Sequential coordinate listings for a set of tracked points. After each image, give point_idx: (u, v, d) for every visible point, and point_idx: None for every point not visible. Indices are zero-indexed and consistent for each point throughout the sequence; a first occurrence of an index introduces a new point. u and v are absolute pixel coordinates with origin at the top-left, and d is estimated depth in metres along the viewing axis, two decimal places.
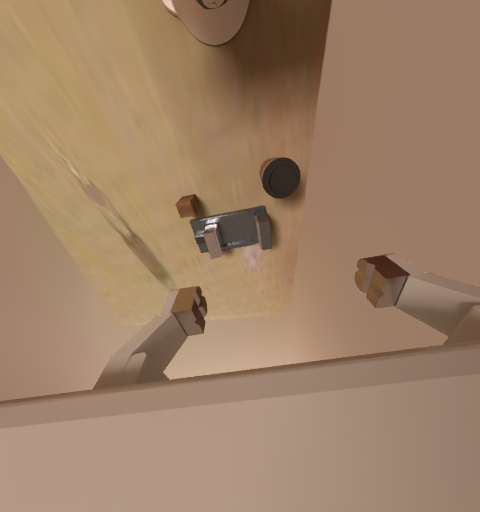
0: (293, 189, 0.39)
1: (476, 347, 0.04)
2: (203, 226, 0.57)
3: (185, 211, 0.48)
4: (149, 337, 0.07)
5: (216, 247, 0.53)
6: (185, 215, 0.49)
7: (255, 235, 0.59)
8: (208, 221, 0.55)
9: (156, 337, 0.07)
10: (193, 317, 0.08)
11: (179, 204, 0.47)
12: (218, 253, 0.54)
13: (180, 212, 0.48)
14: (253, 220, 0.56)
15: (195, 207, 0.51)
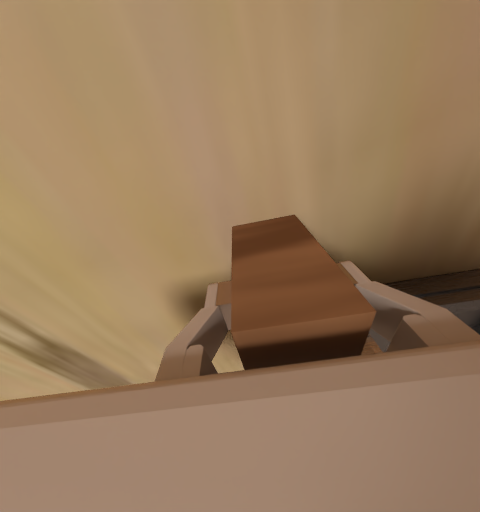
0: None
1: (476, 347, 0.04)
2: None
3: None
4: (200, 329, 0.07)
5: None
6: None
7: None
8: None
9: (205, 330, 0.07)
10: None
11: (266, 333, 0.05)
12: None
13: None
14: None
15: None
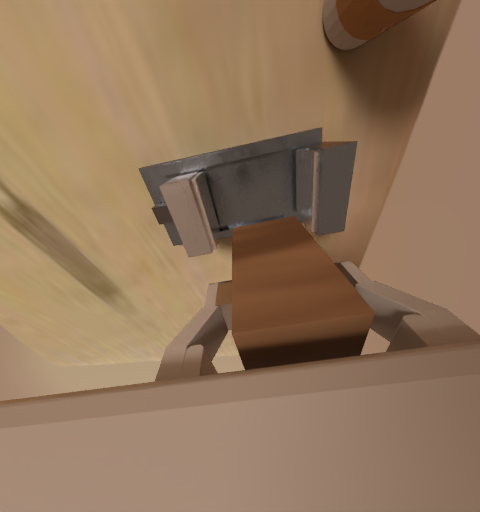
0: None
1: (476, 347, 0.04)
2: None
3: None
4: (200, 330, 0.07)
5: (200, 227, 0.20)
6: None
7: (290, 206, 0.27)
8: (182, 166, 0.22)
9: (205, 330, 0.07)
10: None
11: (266, 334, 0.05)
12: (206, 244, 0.21)
13: None
14: (290, 167, 0.24)
15: None
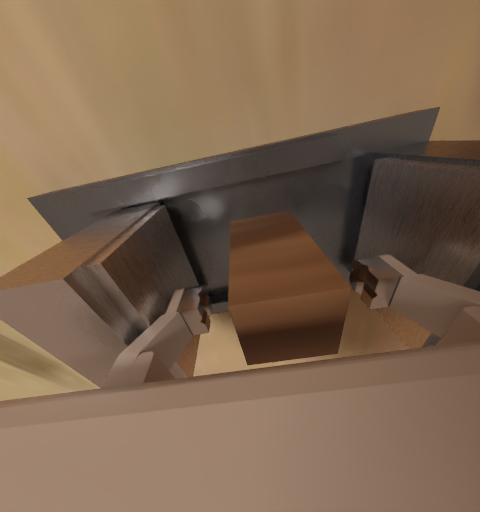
0: None
1: (476, 347, 0.04)
2: None
3: (287, 340, 0.07)
4: (156, 336, 0.07)
5: None
6: (279, 355, 0.08)
7: (338, 261, 0.14)
8: (116, 195, 0.10)
9: (163, 336, 0.07)
10: (199, 316, 0.08)
11: (258, 307, 0.06)
12: None
13: (252, 344, 0.07)
14: (350, 193, 0.11)
15: None
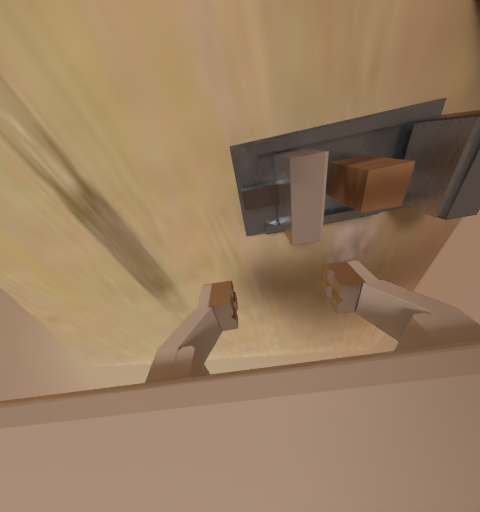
0: None
1: (476, 347, 0.04)
2: (262, 161, 0.22)
3: (383, 193, 0.17)
4: (192, 331, 0.07)
5: (317, 210, 0.17)
6: (376, 205, 0.18)
7: None
8: (283, 142, 0.20)
9: (198, 331, 0.07)
10: (230, 312, 0.08)
11: (379, 171, 0.16)
12: (317, 229, 0.19)
13: (368, 196, 0.17)
14: (397, 145, 0.21)
15: None
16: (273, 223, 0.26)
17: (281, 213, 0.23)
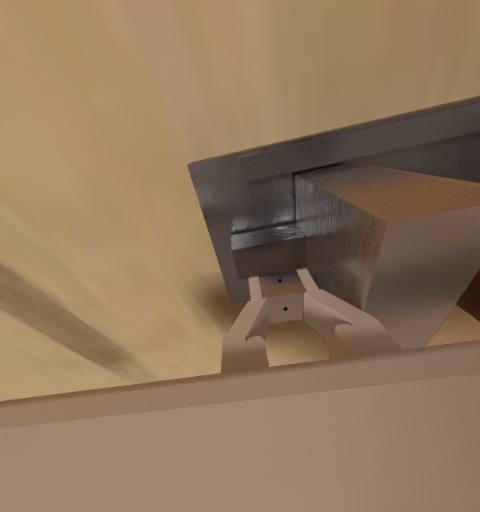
0: None
1: (476, 347, 0.04)
2: (256, 191, 0.11)
3: None
4: (254, 322, 0.06)
5: (424, 332, 0.07)
6: None
7: None
8: (298, 157, 0.09)
9: (257, 322, 0.07)
10: (283, 303, 0.08)
11: None
12: None
13: None
14: None
15: None
16: None
17: None
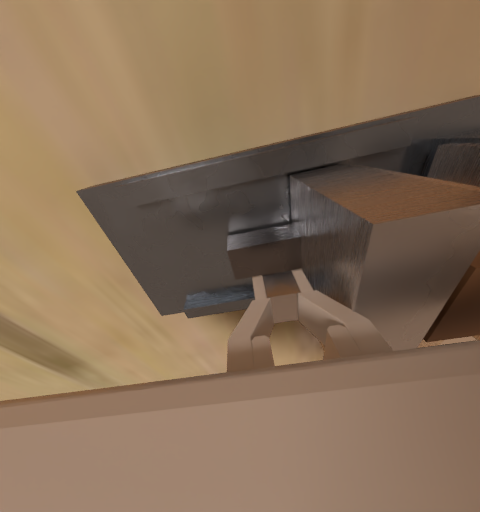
0: None
1: (476, 347, 0.04)
2: (150, 214, 0.12)
3: None
4: (259, 321, 0.06)
5: (416, 331, 0.07)
6: (470, 329, 0.07)
7: None
8: (169, 186, 0.10)
9: (261, 321, 0.07)
10: (287, 303, 0.08)
11: None
12: None
13: (454, 316, 0.07)
14: None
15: None
16: (198, 302, 0.16)
17: None
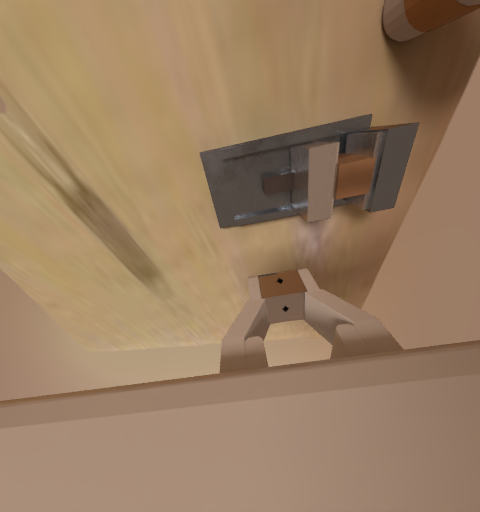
0: None
1: (476, 347, 0.04)
2: (228, 164, 0.26)
3: (353, 183, 0.21)
4: (253, 322, 0.06)
5: (329, 191, 0.21)
6: (348, 193, 0.22)
7: None
8: (242, 149, 0.24)
9: (256, 322, 0.07)
10: (282, 303, 0.08)
11: (348, 165, 0.20)
12: (328, 208, 0.23)
13: (340, 185, 0.21)
14: None
15: None
16: (242, 217, 0.30)
17: (296, 197, 0.26)
